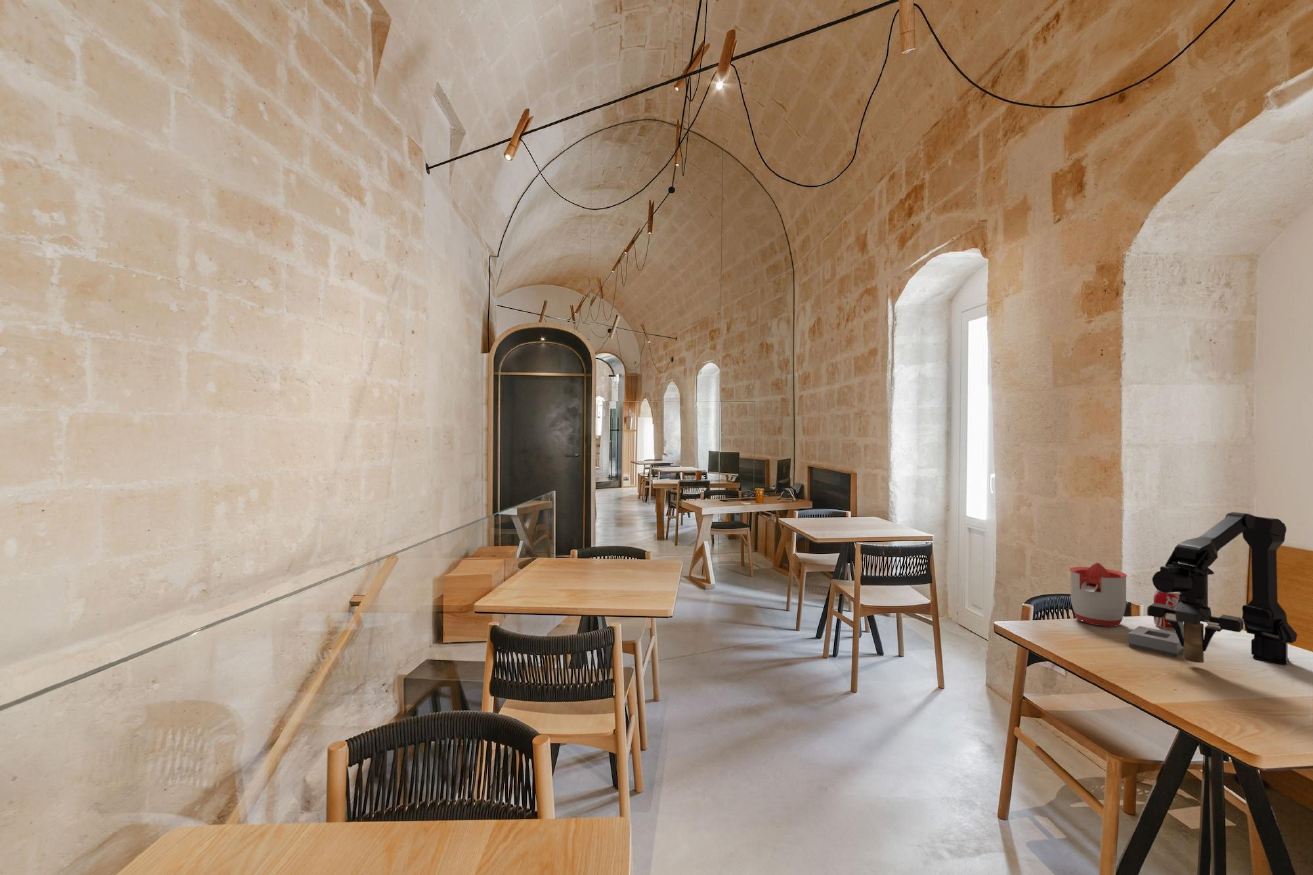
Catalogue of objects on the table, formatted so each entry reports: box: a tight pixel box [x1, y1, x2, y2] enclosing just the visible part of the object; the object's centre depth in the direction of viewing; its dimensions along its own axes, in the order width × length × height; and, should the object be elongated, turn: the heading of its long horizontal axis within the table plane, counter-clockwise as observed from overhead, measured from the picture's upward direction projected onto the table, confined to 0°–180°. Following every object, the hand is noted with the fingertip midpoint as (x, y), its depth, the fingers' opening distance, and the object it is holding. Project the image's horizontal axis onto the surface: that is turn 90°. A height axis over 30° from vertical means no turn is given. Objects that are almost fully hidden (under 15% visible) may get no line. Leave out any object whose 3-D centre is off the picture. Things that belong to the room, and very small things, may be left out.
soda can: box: [1153, 588, 1180, 631], centre depth 194 cm, size 7×7×12 cm
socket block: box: [1128, 625, 1184, 658], centre depth 175 cm, size 11×11×4 cm
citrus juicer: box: [1069, 562, 1128, 628], centre depth 199 cm, size 16×17×20 cm
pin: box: [1183, 622, 1205, 664], centre depth 160 cm, size 4×4×10 cm
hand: (1193, 648), depth 160 cm, fingers closed on pin, 4 cm apart
